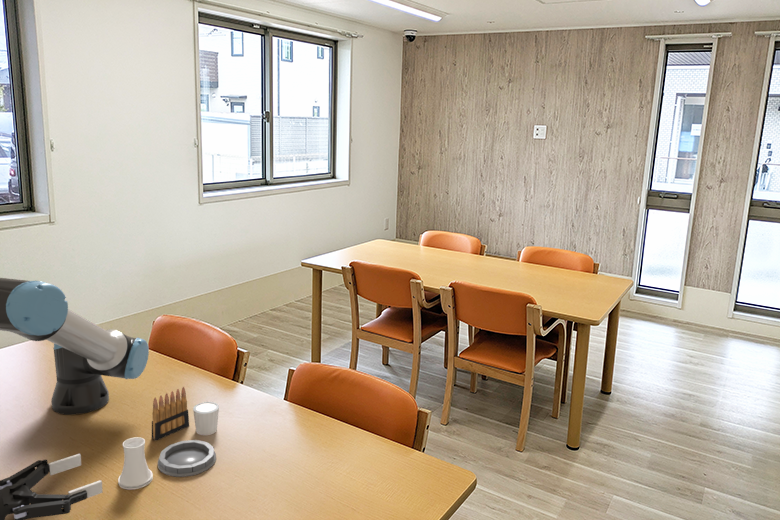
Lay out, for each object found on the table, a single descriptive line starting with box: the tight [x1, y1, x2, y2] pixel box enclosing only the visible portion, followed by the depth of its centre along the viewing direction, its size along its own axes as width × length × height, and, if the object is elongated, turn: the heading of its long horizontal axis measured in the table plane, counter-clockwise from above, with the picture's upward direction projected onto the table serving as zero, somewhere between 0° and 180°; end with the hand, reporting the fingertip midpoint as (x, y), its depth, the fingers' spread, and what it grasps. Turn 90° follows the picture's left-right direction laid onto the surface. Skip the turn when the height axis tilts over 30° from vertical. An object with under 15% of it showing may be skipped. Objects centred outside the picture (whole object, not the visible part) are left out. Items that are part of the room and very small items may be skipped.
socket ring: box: [157, 439, 217, 478], centre depth 152 cm, size 14×14×2 cm
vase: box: [117, 436, 154, 490], centre depth 142 cm, size 8×8×10 cm
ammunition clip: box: [151, 386, 190, 441], centre depth 164 cm, size 11×2×12 cm, turn 145°
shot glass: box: [192, 401, 220, 436], centre depth 166 cm, size 7×7×7 cm
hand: (90, 472), depth 135 cm, fingers open, 13 cm apart
